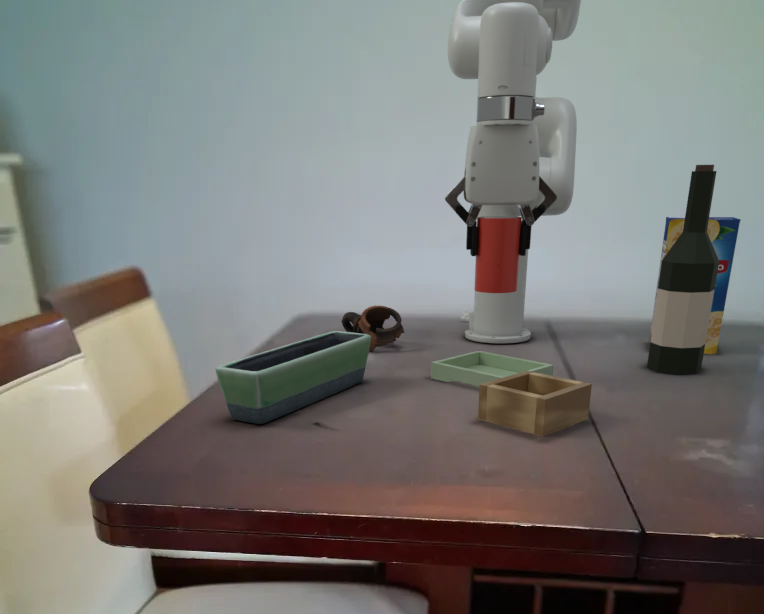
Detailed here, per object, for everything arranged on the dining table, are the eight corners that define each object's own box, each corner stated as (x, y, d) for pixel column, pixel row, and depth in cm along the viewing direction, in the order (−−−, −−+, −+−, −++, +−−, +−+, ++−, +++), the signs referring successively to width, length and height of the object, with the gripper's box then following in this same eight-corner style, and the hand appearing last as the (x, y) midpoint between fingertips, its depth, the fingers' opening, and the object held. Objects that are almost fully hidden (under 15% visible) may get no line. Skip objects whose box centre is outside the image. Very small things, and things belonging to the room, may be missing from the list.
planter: (261, 430, 93) (257, 373, 90) (217, 421, 96) (212, 366, 93) (373, 381, 115) (373, 334, 112) (334, 375, 118) (333, 329, 115)
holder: (477, 423, 95) (479, 384, 93) (524, 407, 101) (526, 370, 99) (542, 441, 88) (545, 399, 86) (587, 423, 94) (592, 383, 92)
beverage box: (648, 343, 138) (665, 216, 129) (711, 346, 136) (734, 217, 127) (650, 351, 132) (669, 218, 123) (716, 354, 130) (740, 219, 121)
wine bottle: (705, 375, 116) (742, 164, 104) (649, 373, 118) (679, 164, 105) (696, 363, 123) (729, 164, 111) (643, 361, 125) (670, 165, 113)
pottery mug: (405, 343, 143) (412, 309, 136) (391, 375, 137) (397, 340, 130) (346, 325, 143) (349, 290, 137) (330, 356, 138) (333, 321, 131)
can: (465, 290, 109) (468, 217, 105) (492, 286, 113) (495, 215, 109) (499, 294, 105) (503, 218, 101) (525, 290, 109) (530, 216, 105)
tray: (430, 378, 116) (430, 362, 115) (478, 366, 123) (478, 350, 122) (505, 396, 106) (506, 378, 105) (552, 381, 114) (553, 364, 112)
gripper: (563, 116, 103) (552, 252, 110) (439, 117, 103) (436, 253, 111) (575, 111, 96) (562, 257, 103) (441, 112, 96) (438, 258, 104)
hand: (497, 253), depth 107 cm, fingers closed on can, 6 cm apart
